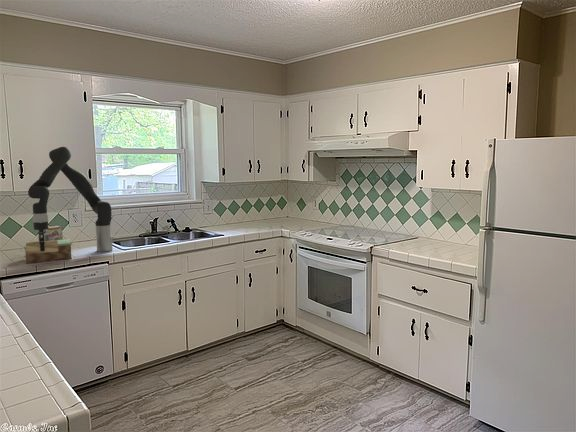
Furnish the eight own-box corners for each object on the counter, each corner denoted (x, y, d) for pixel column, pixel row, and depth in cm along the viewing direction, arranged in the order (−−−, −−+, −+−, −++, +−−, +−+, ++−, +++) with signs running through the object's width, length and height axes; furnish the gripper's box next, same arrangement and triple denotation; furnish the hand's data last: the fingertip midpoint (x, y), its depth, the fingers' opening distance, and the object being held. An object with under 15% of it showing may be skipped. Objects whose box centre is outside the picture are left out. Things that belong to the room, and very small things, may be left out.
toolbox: (70, 254, 287) (69, 241, 286) (71, 259, 275) (70, 244, 274) (26, 258, 276) (25, 244, 274) (26, 263, 263) (25, 248, 262)
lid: (70, 240, 287) (69, 231, 286) (71, 244, 274) (71, 234, 273) (24, 244, 275) (24, 234, 274) (24, 248, 262) (23, 238, 261)
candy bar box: (46, 253, 292) (44, 228, 290) (43, 252, 296) (41, 227, 293) (63, 250, 301) (62, 226, 299) (60, 249, 304) (58, 225, 302)
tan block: (26, 252, 257) (26, 242, 256) (58, 250, 264) (57, 240, 264) (26, 254, 253) (25, 243, 253) (58, 251, 261) (57, 241, 260)
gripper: (33, 219, 261) (35, 248, 263) (32, 223, 249) (35, 253, 251) (47, 219, 265) (49, 247, 267) (48, 222, 252) (50, 252, 254)
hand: (42, 250), depth 259 cm, fingers closed on tan block, 4 cm apart
